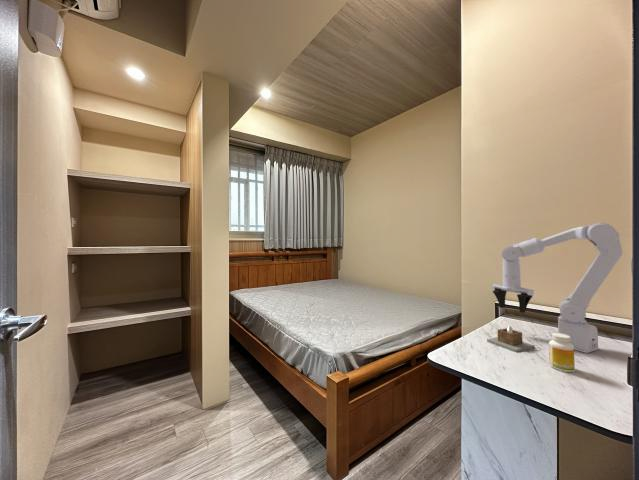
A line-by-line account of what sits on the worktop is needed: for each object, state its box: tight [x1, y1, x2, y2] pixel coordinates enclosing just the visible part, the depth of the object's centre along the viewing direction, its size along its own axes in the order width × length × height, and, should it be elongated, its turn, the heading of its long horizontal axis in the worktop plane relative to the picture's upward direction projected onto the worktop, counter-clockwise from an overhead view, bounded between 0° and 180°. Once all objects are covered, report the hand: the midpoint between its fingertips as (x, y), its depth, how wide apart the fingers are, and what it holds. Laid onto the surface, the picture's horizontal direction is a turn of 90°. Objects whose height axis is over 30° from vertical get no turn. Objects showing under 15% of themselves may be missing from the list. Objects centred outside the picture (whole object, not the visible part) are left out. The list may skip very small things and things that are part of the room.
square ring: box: [497, 327, 523, 346], centre depth 92 cm, size 5×5×4 cm
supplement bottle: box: [548, 332, 576, 373], centre depth 74 cm, size 5×5×10 cm
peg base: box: [486, 325, 536, 353], centre depth 92 cm, size 10×10×7 cm
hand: (512, 309), depth 101 cm, fingers open, 7 cm apart
